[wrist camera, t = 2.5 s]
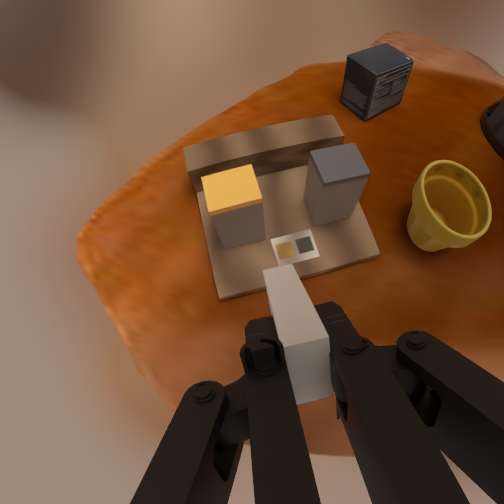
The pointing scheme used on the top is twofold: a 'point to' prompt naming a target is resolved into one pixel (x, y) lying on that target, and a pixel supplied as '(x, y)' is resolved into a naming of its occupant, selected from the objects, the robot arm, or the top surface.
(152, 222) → the top surface
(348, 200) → the button
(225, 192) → the button
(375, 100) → the small box
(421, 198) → the plant pot
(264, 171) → the console
